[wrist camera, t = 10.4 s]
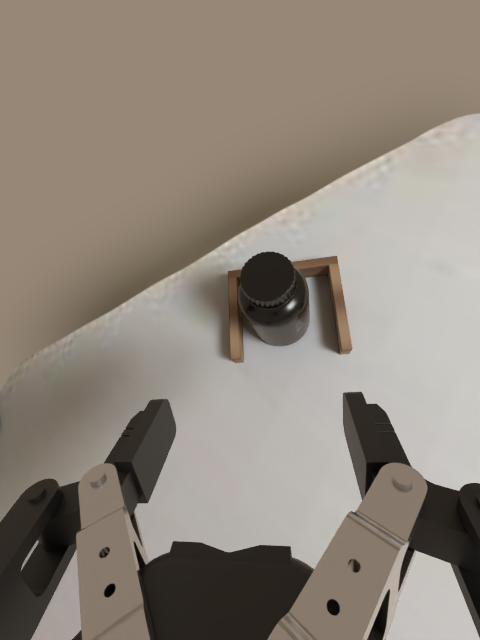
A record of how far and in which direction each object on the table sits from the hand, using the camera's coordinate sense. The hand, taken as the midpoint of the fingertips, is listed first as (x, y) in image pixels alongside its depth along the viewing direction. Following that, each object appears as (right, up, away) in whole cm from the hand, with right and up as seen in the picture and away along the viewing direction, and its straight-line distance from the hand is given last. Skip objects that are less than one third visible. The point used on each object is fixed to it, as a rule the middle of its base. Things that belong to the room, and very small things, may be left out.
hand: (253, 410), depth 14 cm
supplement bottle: (+4, +4, +23) cm, 23 cm away
